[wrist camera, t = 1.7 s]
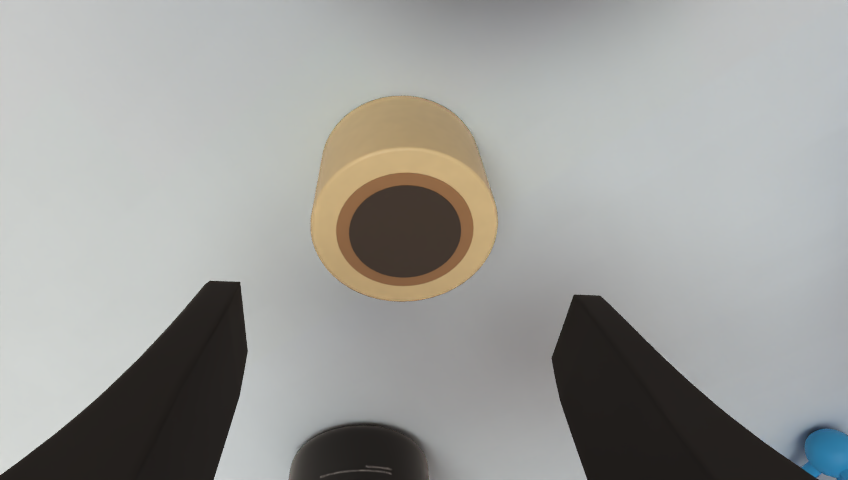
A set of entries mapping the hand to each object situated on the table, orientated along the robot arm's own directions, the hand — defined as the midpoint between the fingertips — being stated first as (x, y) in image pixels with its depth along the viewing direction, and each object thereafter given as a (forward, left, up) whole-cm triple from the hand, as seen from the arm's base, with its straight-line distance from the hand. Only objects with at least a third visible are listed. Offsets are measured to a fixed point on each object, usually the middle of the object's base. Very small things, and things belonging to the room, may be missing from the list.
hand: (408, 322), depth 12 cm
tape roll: (0, 0, -7) cm, 7 cm away
